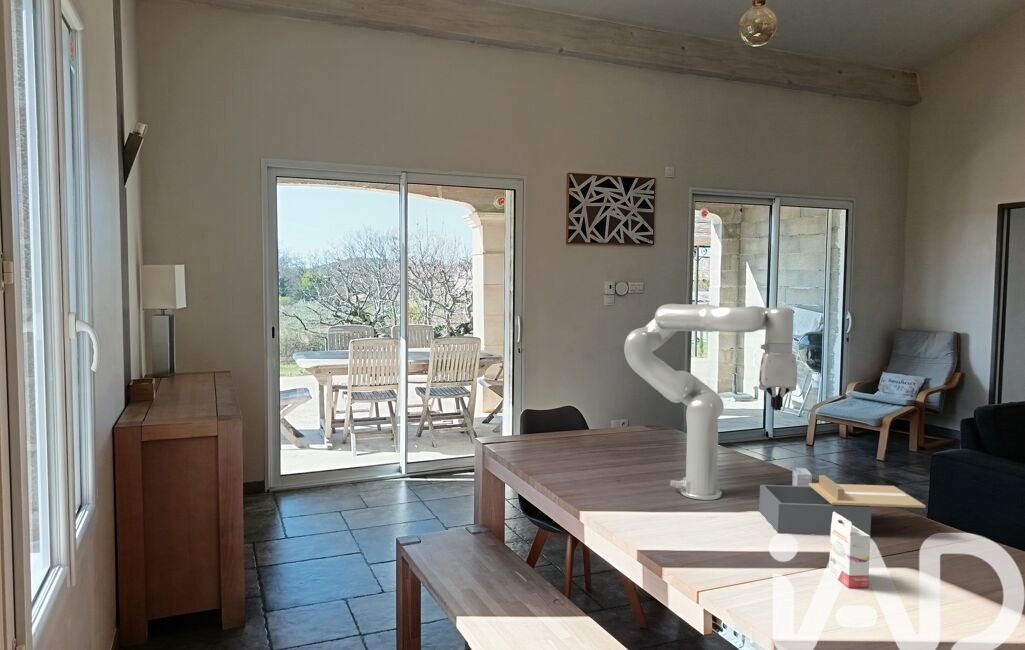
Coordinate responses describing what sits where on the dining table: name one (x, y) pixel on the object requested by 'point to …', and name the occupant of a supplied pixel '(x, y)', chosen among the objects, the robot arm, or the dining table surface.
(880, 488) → the lid
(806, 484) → the medicine box
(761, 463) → the dining table surface
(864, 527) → the box
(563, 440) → the dining table surface
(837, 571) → the ink cartridge box
